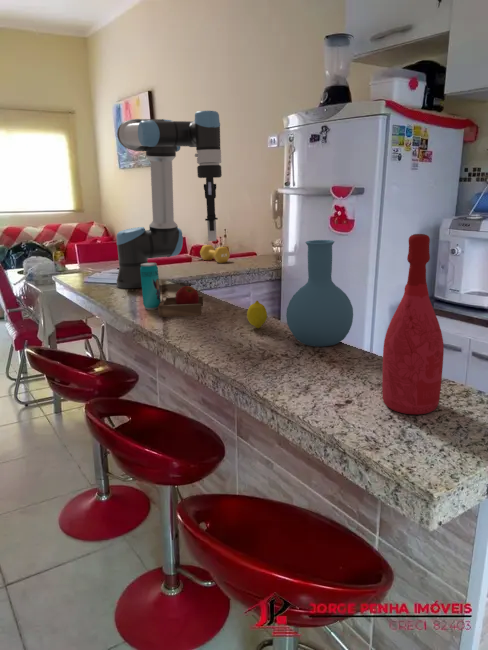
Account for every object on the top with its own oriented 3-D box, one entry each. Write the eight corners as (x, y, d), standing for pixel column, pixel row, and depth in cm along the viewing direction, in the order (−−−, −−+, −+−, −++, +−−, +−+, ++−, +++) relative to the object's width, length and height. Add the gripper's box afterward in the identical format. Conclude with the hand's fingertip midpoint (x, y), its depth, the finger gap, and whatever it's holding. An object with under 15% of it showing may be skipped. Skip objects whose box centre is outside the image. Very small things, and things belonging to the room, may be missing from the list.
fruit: (244, 327, 142) (243, 299, 140) (262, 324, 144) (261, 297, 142) (251, 332, 137) (251, 303, 135) (270, 329, 139) (269, 301, 137)
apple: (175, 313, 161) (173, 289, 158) (176, 307, 168) (175, 284, 166) (199, 312, 161) (197, 287, 159) (199, 306, 169) (198, 283, 167)
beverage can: (157, 310, 166) (153, 265, 162) (141, 310, 167) (136, 265, 163) (163, 306, 171) (160, 262, 167) (147, 306, 172) (143, 262, 168)
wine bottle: (416, 423, 83) (427, 238, 75) (369, 404, 90) (375, 234, 82) (451, 406, 88) (465, 233, 80) (404, 390, 96) (412, 230, 88)
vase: (360, 335, 131) (363, 238, 124) (342, 354, 117) (343, 246, 110) (300, 329, 138) (300, 237, 132) (276, 346, 124) (274, 244, 118)
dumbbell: (231, 262, 266) (230, 246, 264) (216, 264, 262) (216, 248, 259) (213, 258, 282) (212, 244, 280) (199, 260, 277) (198, 245, 275)
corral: (164, 307, 170) (163, 297, 169) (203, 305, 170) (202, 295, 169) (159, 317, 157) (158, 306, 156) (201, 315, 157) (200, 304, 156)
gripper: (198, 165, 163) (201, 238, 170) (196, 164, 151) (199, 243, 158) (221, 164, 164) (223, 237, 170) (221, 163, 151) (224, 243, 158)
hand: (212, 240), depth 164 cm, fingers closed
